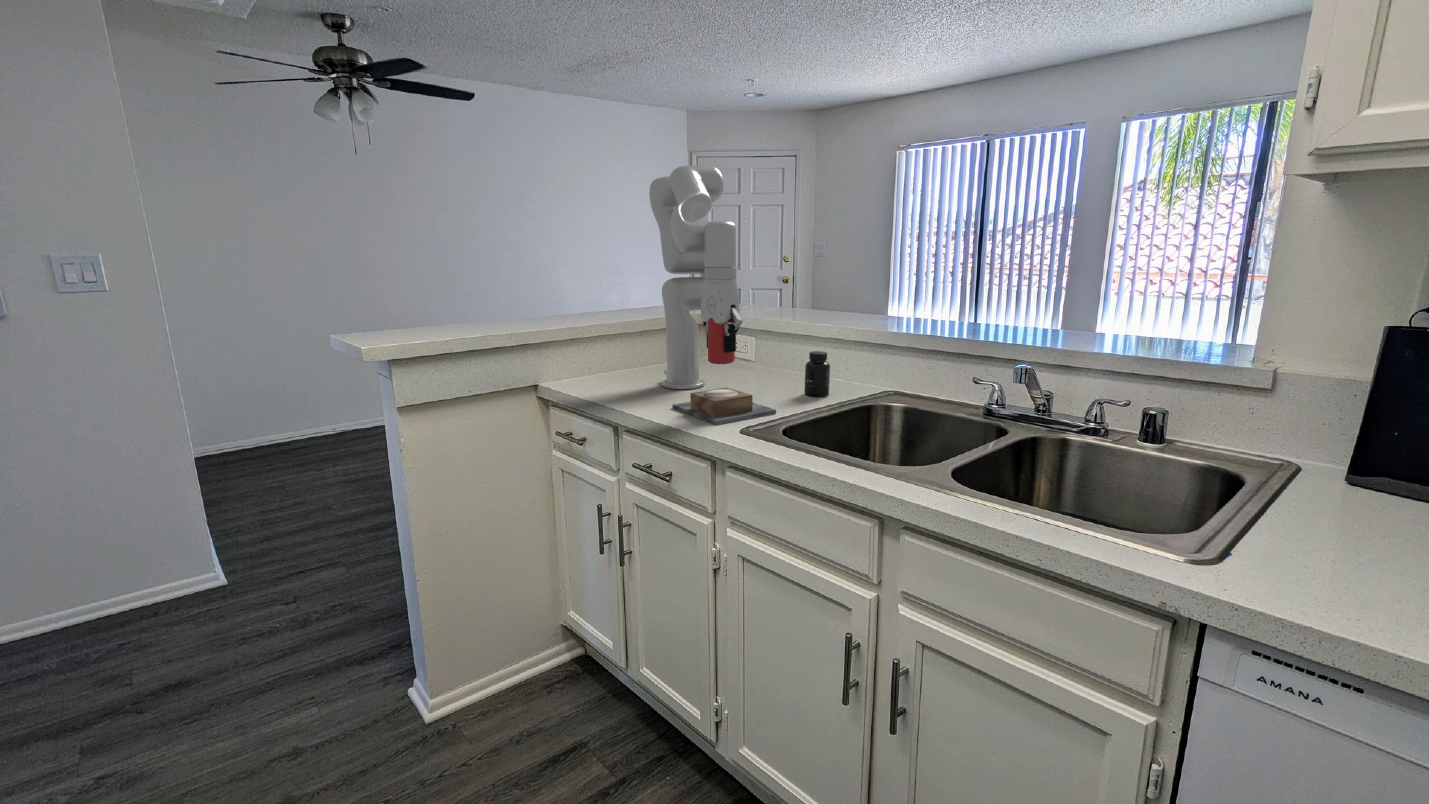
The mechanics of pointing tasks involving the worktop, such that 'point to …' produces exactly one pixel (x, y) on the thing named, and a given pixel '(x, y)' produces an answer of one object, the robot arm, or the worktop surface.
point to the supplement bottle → (817, 375)
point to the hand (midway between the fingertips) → (721, 349)
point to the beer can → (718, 344)
